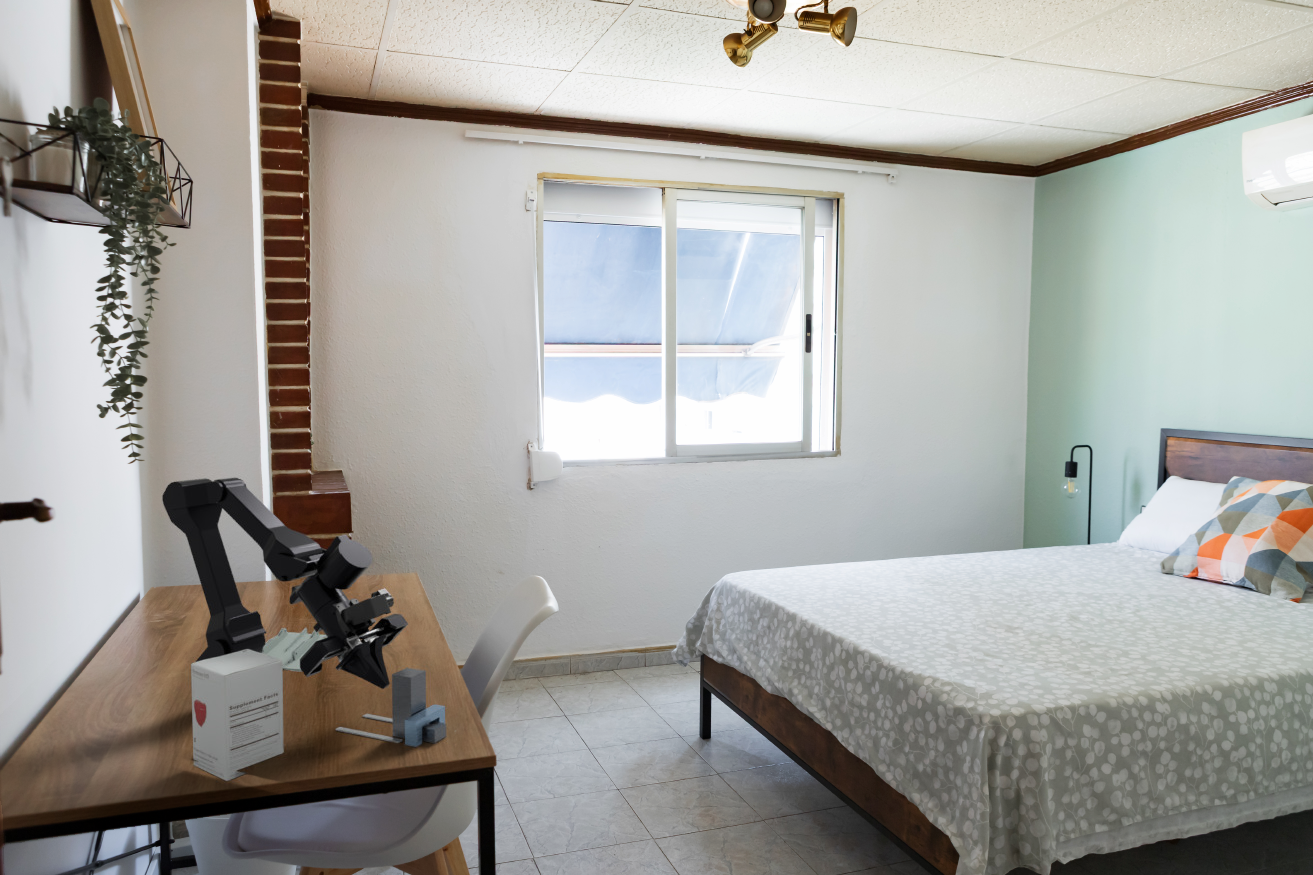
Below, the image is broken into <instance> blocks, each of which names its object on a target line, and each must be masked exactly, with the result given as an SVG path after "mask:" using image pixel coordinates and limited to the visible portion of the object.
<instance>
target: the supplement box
mask: <svg viewBox="0 0 1313 875" xmlns="http://www.w3.org/2000/svg"><path fill="white" fill-rule="evenodd" d="M190 667H191V668H190V671H191V672H190V673H191V676H190V678H191V710H192V711H191V712H192V719H191V720H192V750H193V753H192V754H193V756H192V757H193V766H195V767H197V768H199V769H200V770H202V771H205V772H207V773H209V774H211V775H213V776H215V777H217V778H220V779H222V780H224V781H226V782H227V781H231V780H233V779H235V778H238V777H241V776H244V775H246V774H247V772H243V771H240V770H241V769H244V768H247V767H249V766H252V765H255V764H258V763H261V762H263V761H266V760H268V759H271V758H273V757H276V756H279V755H281V754H283V753H284V704H283V703H284V698H283V696H284V694H283V692H284V689H283V685H284V683H283V682H284V680H283V675H284V674H283V670H282V660H281V659H278V658H274V657H271V656H268V655H267V654H264V653H259V652H256V651H253V650H250V649H245V650H242V651H238V652H234V653H231V654H227V655H223V656H219V657H214V658H210V659H205V660H201V661H198V662H196V661H195V662H193V663H191V664H190ZM238 770H239V771H238Z"/></svg>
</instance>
